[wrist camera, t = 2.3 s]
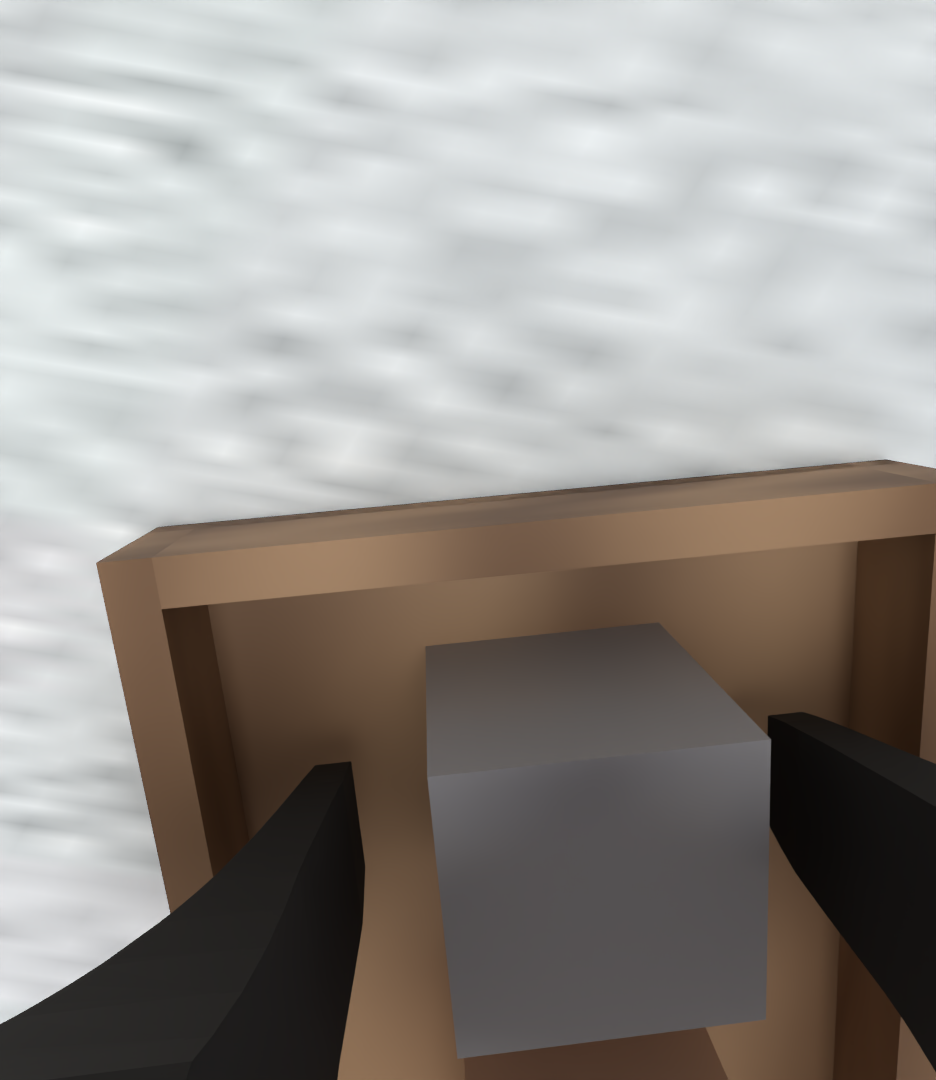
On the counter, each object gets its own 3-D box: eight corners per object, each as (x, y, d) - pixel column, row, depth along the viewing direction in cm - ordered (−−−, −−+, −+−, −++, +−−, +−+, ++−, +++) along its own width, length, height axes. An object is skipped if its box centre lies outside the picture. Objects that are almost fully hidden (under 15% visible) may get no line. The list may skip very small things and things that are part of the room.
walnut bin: (886, 459, 13) (989, 478, 11) (849, 1138, 17) (919, 1263, 15) (158, 527, 13) (95, 563, 10) (287, 1214, 17) (264, 1358, 14)
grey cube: (658, 622, 13) (770, 739, 9) (663, 827, 14) (765, 1019, 10) (425, 646, 13) (427, 776, 9) (446, 851, 14) (457, 1059, 10)
